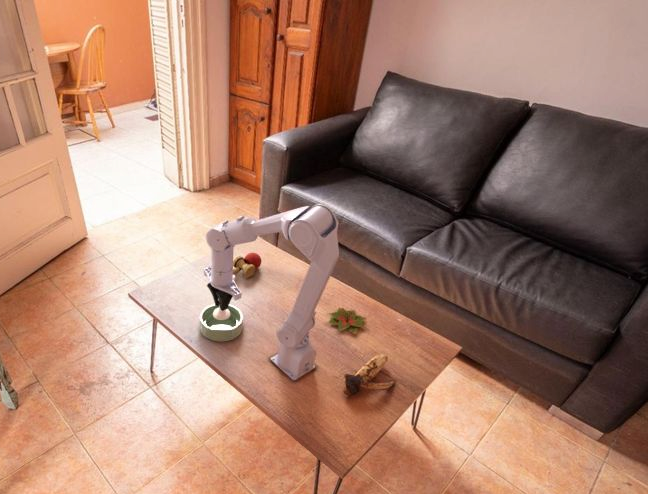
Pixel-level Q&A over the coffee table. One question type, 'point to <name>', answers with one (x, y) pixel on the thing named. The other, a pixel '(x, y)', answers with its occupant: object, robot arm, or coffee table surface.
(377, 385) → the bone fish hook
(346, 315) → the succulent plant
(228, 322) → the bowl
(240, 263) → the kendama
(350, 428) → the coffee table surface
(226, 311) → the chess piece
